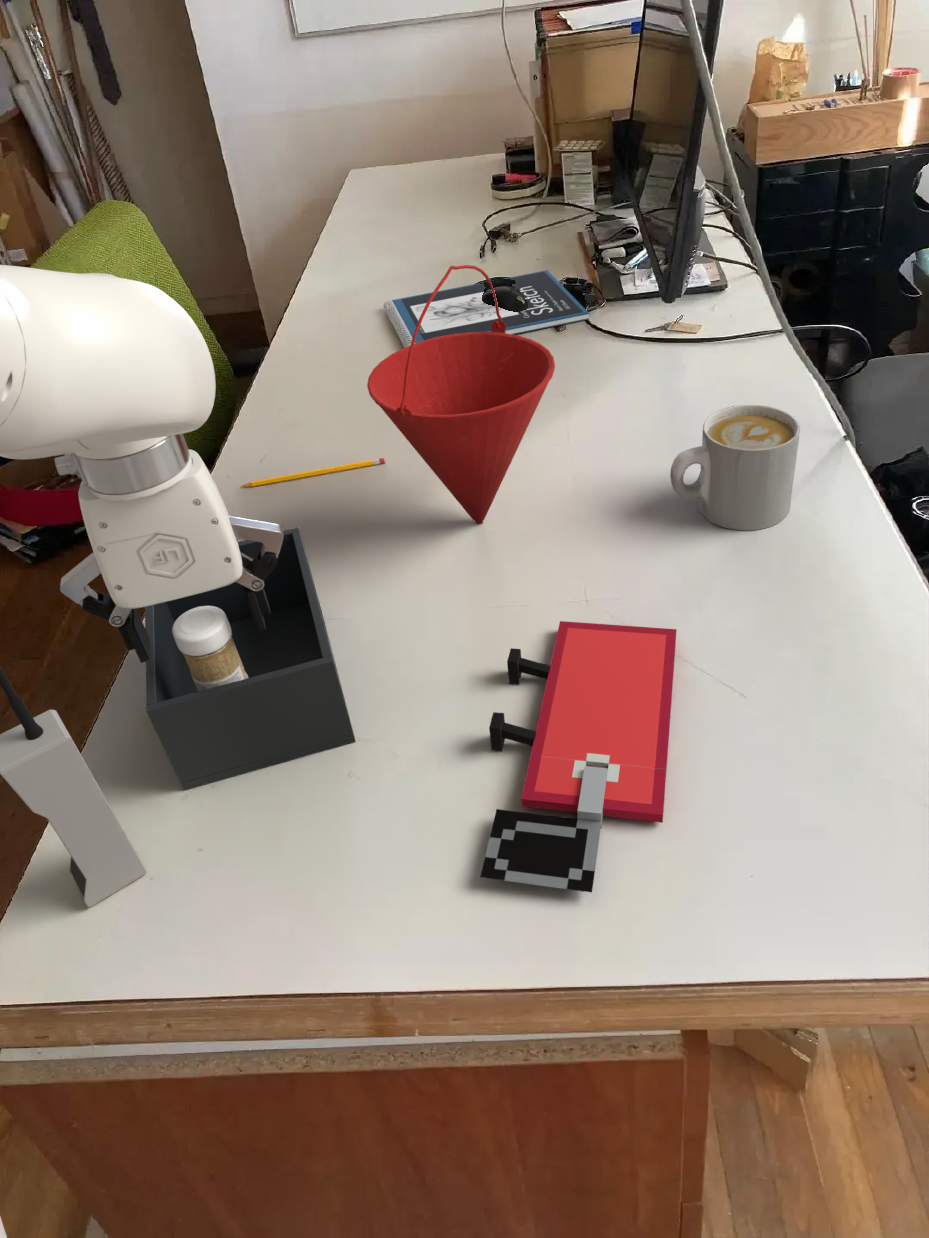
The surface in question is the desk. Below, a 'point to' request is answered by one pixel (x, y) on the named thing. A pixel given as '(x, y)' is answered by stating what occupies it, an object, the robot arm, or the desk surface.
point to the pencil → (314, 473)
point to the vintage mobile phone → (67, 800)
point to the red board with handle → (585, 750)
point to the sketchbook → (485, 310)
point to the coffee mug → (742, 467)
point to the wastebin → (249, 679)
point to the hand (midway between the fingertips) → (203, 636)
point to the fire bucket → (465, 402)
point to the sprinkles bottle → (208, 647)
